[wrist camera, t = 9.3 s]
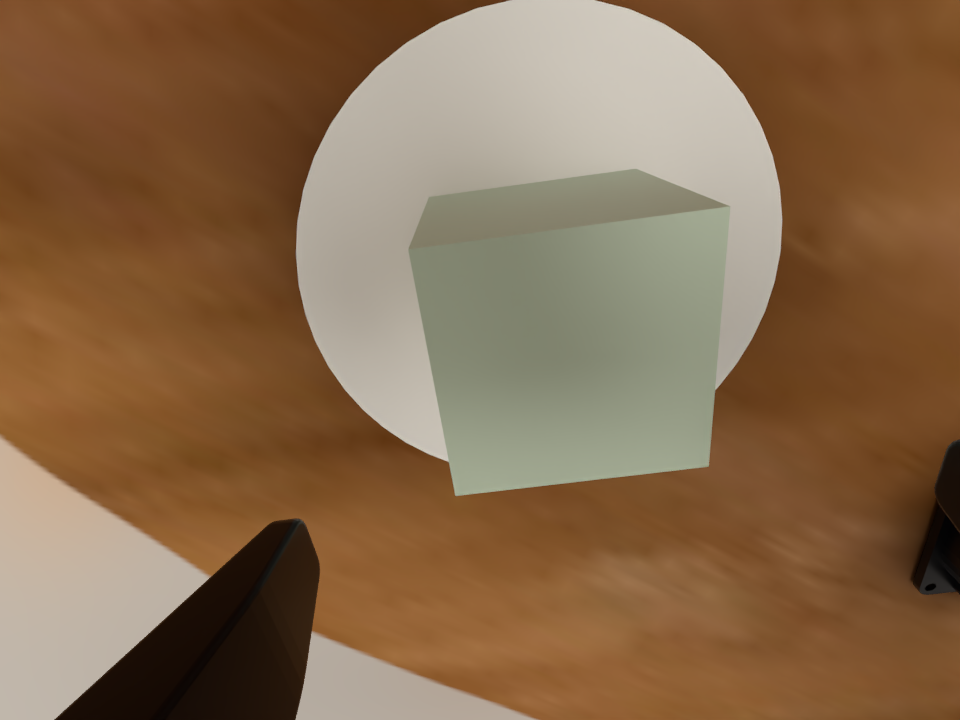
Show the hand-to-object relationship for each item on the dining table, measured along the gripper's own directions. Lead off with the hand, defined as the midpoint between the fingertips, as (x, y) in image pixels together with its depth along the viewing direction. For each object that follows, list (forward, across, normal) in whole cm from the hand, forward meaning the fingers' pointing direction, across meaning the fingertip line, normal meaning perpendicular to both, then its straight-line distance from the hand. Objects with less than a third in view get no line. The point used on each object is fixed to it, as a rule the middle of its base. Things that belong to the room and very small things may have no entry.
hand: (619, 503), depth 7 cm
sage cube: (+10, 0, 0) cm, 10 cm away
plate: (+12, 0, 0) cm, 12 cm away
